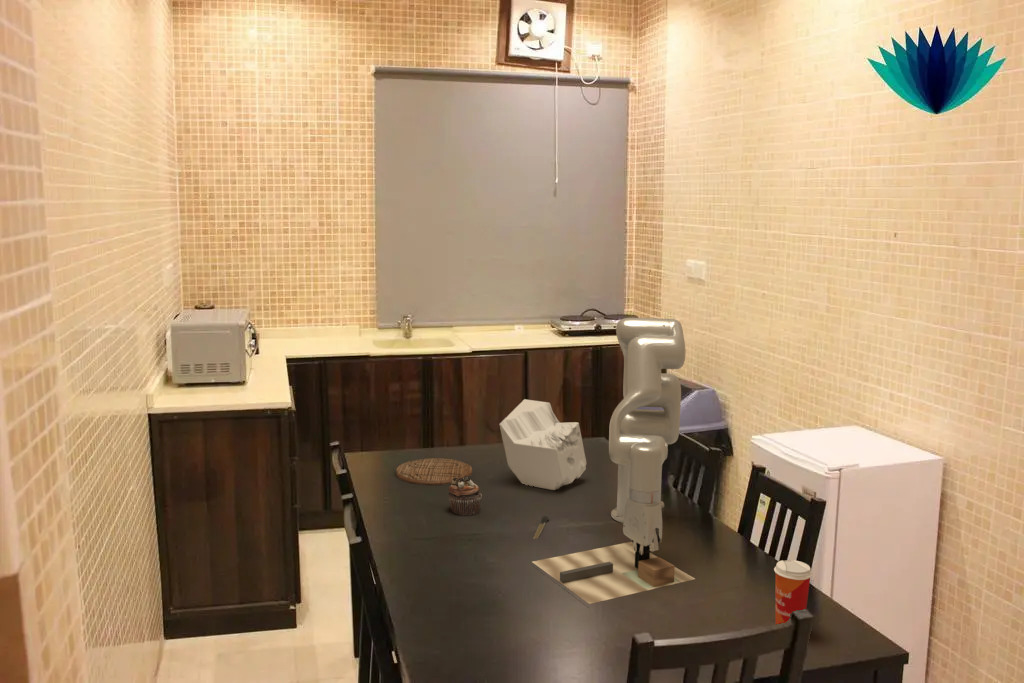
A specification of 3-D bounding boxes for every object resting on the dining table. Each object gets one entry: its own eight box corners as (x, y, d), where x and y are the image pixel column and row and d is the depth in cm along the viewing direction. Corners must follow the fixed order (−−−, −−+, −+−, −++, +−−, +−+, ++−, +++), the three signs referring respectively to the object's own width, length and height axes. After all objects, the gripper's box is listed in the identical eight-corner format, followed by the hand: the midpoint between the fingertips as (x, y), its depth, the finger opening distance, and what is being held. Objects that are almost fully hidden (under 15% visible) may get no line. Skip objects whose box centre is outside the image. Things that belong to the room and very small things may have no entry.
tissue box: (591, 472, 285) (579, 406, 275) (568, 501, 273) (555, 433, 263) (537, 463, 296) (524, 398, 285) (513, 490, 284) (499, 424, 274)
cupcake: (462, 519, 249) (462, 485, 248) (442, 510, 256) (442, 476, 255) (488, 511, 255) (489, 478, 254) (467, 503, 263) (468, 470, 261)
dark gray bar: (609, 569, 213) (609, 561, 213) (612, 571, 212) (613, 563, 211) (559, 580, 206) (560, 572, 206) (563, 582, 205) (563, 574, 205)
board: (631, 545, 231) (631, 541, 231) (695, 582, 209) (695, 578, 209) (531, 565, 217) (531, 561, 217) (589, 608, 195) (589, 603, 195)
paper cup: (765, 620, 190) (768, 559, 188) (799, 619, 191) (803, 558, 189) (778, 638, 182) (783, 574, 180) (814, 637, 183) (819, 573, 181)
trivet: (469, 487, 279) (469, 481, 278) (391, 485, 279) (391, 480, 278) (474, 464, 303) (474, 458, 303) (401, 463, 303) (401, 457, 303)
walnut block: (658, 572, 212) (658, 556, 211) (674, 581, 207) (674, 565, 206) (638, 577, 209) (638, 561, 208) (653, 586, 204) (654, 570, 203)
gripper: (613, 487, 214) (611, 559, 217) (651, 506, 201) (647, 582, 204) (638, 483, 218) (636, 554, 220) (677, 501, 205) (673, 576, 207)
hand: (641, 567), depth 212 cm, fingers closed
